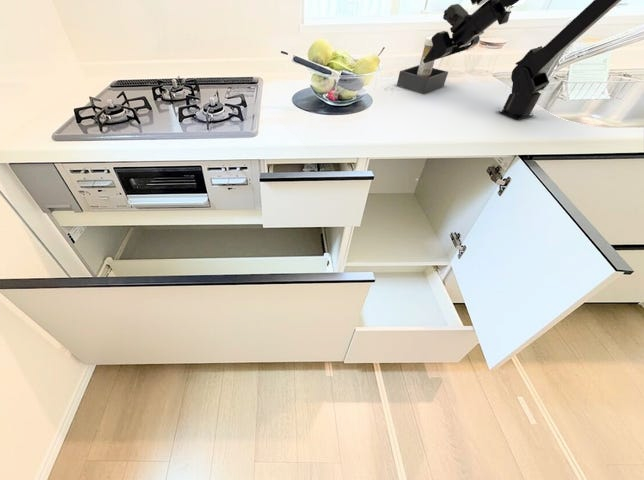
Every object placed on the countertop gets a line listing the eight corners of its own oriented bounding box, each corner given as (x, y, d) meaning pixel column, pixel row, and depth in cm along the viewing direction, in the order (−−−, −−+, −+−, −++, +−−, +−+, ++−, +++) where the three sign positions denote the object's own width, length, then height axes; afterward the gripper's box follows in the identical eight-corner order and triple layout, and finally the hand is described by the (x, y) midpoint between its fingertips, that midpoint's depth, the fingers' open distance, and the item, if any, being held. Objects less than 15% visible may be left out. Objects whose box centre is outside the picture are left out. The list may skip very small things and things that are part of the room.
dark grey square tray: (443, 86, 112) (448, 71, 109) (423, 94, 108) (428, 78, 104) (416, 78, 118) (420, 64, 115) (396, 85, 114) (399, 71, 111)
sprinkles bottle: (428, 83, 113) (441, 36, 103) (427, 87, 110) (441, 39, 101) (414, 82, 115) (426, 35, 105) (413, 86, 112) (425, 38, 102)
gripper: (486, -11, 94) (439, 30, 109) (449, -4, 87) (404, 39, 101) (500, 26, 96) (452, 62, 110) (464, 37, 88) (418, 74, 103)
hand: (432, 59), depth 106 cm, fingers open, 9 cm apart
